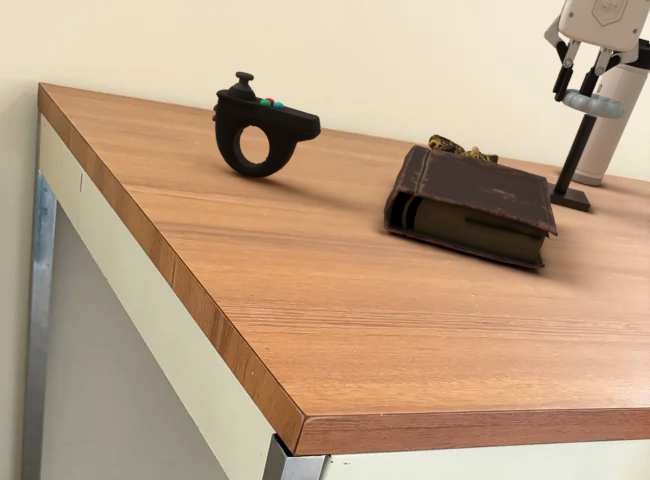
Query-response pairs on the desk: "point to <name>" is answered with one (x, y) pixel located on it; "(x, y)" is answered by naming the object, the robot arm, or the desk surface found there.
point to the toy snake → (458, 148)
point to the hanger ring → (595, 105)
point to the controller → (271, 117)
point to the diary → (471, 206)
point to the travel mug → (606, 132)
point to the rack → (573, 170)
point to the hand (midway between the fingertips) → (568, 102)
